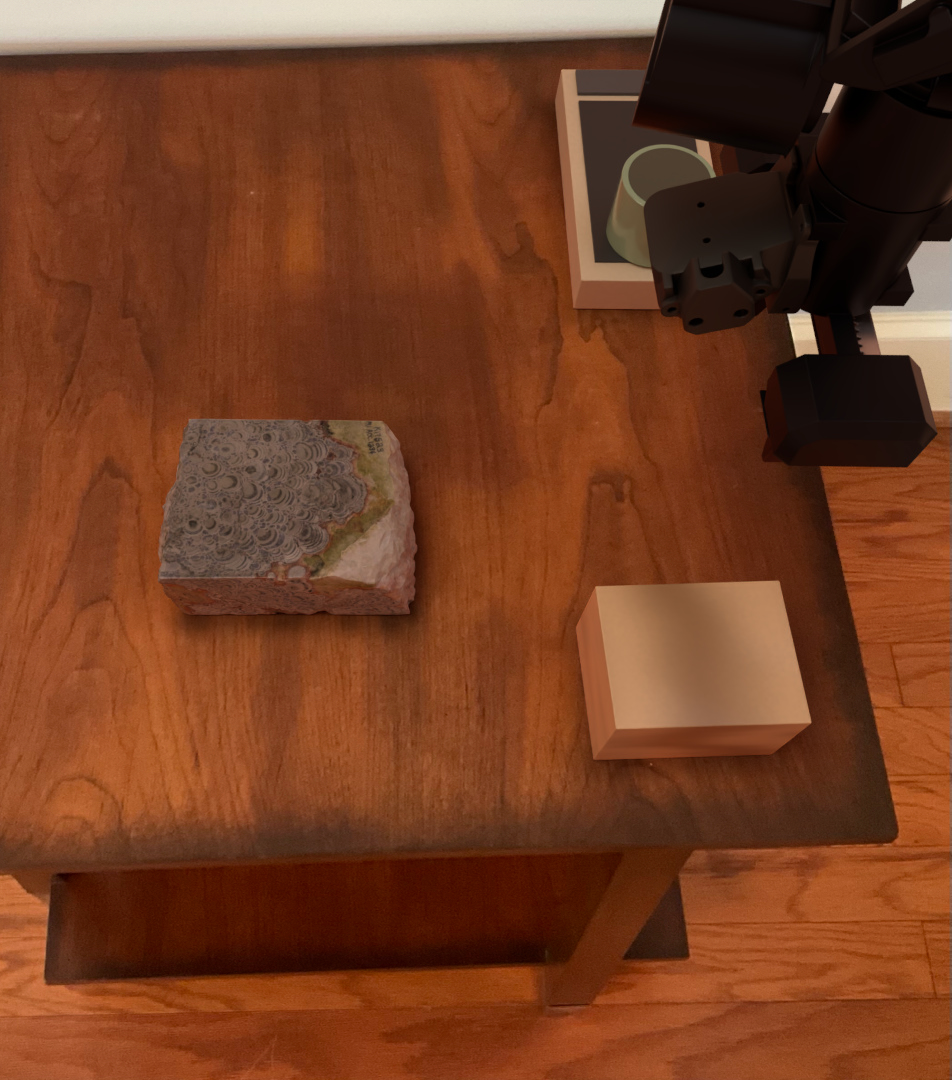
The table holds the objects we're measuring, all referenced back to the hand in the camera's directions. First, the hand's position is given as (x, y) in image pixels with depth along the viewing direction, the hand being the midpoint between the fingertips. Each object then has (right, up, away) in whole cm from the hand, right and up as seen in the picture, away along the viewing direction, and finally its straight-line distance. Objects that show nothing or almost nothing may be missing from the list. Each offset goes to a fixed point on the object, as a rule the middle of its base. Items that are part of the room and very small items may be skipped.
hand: (758, 384), depth 57 cm
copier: (-1, +16, +22) cm, 27 cm away
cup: (-1, +12, +16) cm, 20 cm away
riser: (-3, -17, +5) cm, 18 cm away
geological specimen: (-25, -8, +10) cm, 28 cm away
